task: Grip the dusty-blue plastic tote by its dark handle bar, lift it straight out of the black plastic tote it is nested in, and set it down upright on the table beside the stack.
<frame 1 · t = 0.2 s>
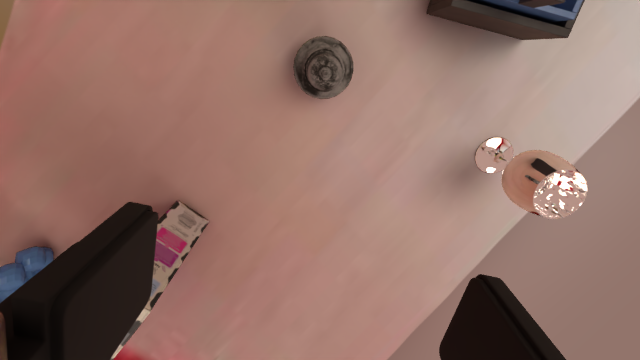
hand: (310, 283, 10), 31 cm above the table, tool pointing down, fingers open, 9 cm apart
grapes: (51, 268, 46), on the table
wineglass: (493, 154, 42), on the table
grey chess piece: (322, 66, 38), on the table
candy bar box: (171, 239, 45), on the table
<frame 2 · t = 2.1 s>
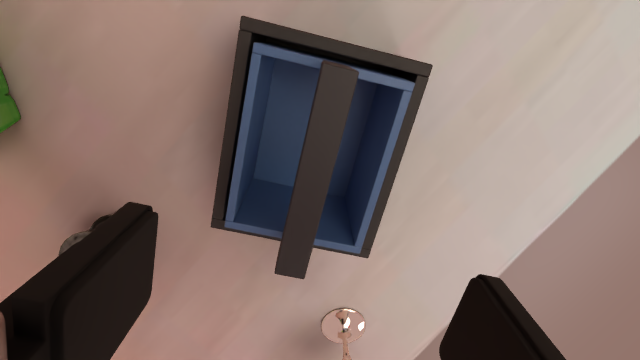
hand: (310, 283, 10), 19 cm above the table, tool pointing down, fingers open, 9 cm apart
blue tote: (313, 128, 27), point 1 cm above the table, touching black tote
wineglass: (343, 324, 35), on the table
grey chess piece: (121, 239, 32), on the table
black tote: (313, 127, 28), on the table
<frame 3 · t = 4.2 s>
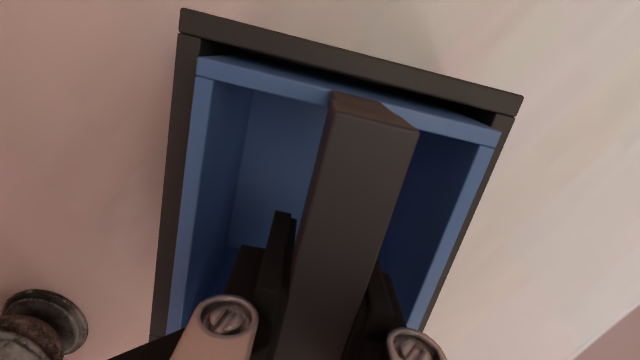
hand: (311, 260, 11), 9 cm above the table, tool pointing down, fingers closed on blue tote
blue tote: (313, 177, 19), point 1 cm above the table, touching gripper
grey chess piece: (48, 321, 23), on the table
black tote: (313, 173, 19), on the table
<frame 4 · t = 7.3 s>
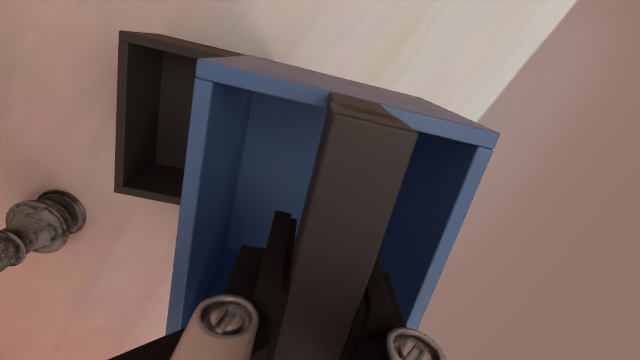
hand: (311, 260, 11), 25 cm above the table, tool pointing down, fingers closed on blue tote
blue tote: (312, 178, 19), point 17 cm above the table, touching gripper
grey chess piece: (62, 211, 38), on the table
black tote: (210, 116, 35), on the table
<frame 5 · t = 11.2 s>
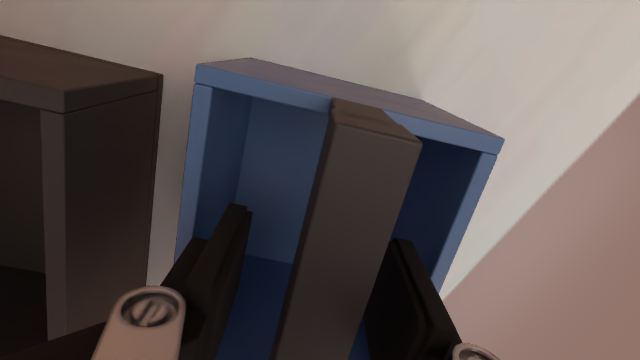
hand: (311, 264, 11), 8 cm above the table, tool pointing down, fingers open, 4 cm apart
blue tote: (313, 181, 19), on the table
black tote: (49, 174, 18), on the table
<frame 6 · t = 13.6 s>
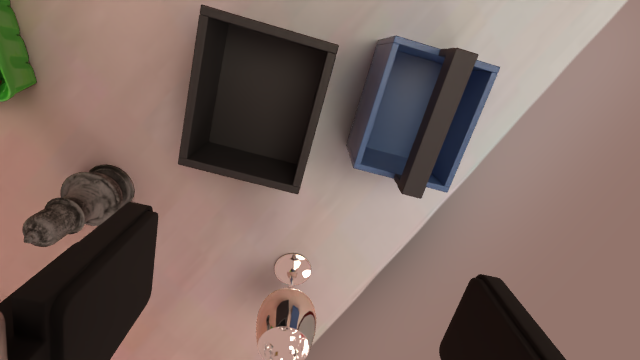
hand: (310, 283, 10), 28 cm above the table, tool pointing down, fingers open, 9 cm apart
blue tote: (401, 106, 36), on the table
wineglass: (292, 268, 43), on the table
grey chess piece: (111, 186, 39), on the table
fruit basket: (4, 36, 34), on the table
black tote: (265, 98, 36), on the table
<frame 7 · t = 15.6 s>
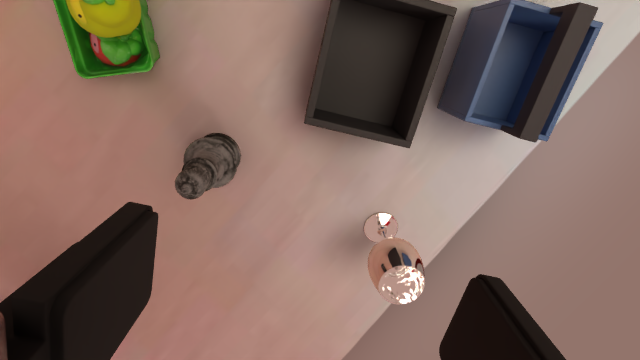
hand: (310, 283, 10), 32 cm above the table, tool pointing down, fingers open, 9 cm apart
blue tote: (489, 69, 39), on the table
wineglass: (380, 227, 46), on the table
grey chess piece: (219, 154, 42), on the table
fruit basket: (132, 15, 37), on the table
black tote: (366, 65, 39), on the table
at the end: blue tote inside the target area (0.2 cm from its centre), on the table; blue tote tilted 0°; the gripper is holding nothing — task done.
